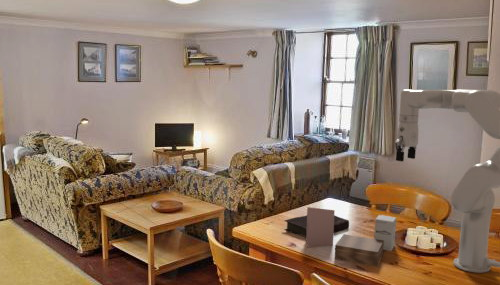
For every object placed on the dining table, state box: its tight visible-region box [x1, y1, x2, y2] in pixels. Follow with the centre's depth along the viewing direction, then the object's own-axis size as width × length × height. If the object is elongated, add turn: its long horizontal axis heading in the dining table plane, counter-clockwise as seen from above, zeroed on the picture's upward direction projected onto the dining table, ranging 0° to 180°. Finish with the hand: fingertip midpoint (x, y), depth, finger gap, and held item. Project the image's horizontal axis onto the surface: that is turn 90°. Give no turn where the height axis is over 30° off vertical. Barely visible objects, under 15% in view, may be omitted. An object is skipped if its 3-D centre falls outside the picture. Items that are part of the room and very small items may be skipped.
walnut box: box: [334, 233, 384, 267], centre depth 187 cm, size 16×14×6 cm
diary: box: [283, 214, 350, 238], centre depth 219 cm, size 19×25×5 cm
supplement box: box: [373, 214, 397, 252], centre depth 197 cm, size 7×7×13 cm
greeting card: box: [305, 207, 335, 248], centre depth 197 cm, size 11×7×15 cm, turn 70°
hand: (405, 159), depth 201 cm, fingers open, 9 cm apart
